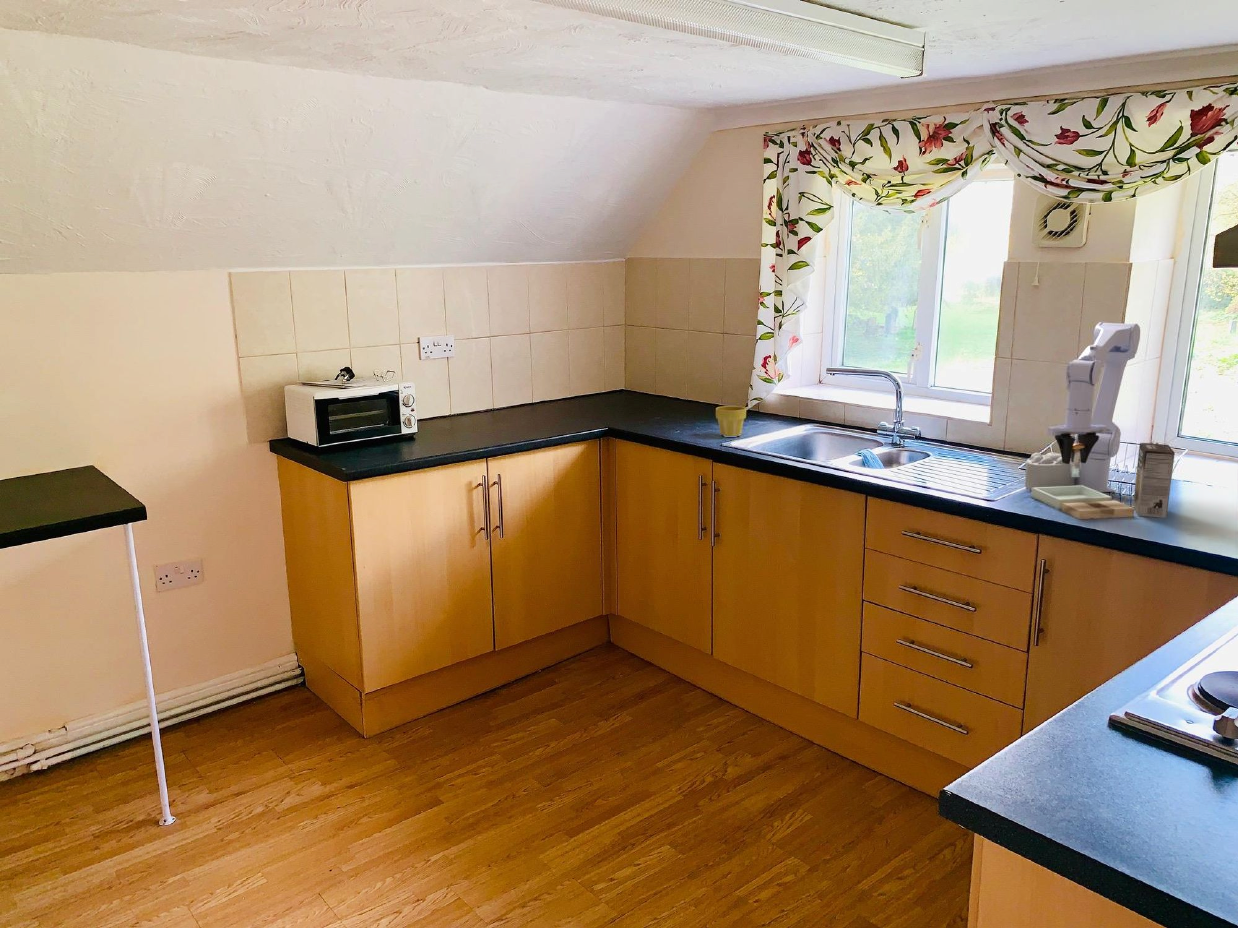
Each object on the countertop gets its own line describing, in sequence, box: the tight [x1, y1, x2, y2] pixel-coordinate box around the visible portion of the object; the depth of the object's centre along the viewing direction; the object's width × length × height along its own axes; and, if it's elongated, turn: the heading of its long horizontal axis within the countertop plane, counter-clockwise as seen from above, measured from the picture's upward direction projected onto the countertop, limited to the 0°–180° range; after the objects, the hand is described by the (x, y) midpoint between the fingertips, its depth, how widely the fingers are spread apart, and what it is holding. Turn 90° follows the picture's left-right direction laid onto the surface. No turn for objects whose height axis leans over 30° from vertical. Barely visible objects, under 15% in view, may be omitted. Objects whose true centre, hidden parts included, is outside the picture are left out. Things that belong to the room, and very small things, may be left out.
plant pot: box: [715, 405, 747, 436], centre depth 323 cm, size 10×10×10 cm
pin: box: [1070, 443, 1085, 477], centre depth 235 cm, size 4×4×8 cm
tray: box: [1030, 485, 1113, 510], centre depth 237 cm, size 12×14×2 cm
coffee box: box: [1132, 442, 1176, 519], centre depth 226 cm, size 9×6×16 cm
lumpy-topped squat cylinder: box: [1024, 451, 1075, 491], centre depth 251 cm, size 10×13×9 cm
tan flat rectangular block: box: [1061, 500, 1136, 520], centre depth 227 cm, size 7×14×2 cm, turn 98°
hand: (1073, 462), depth 235 cm, fingers closed on pin, 4 cm apart
